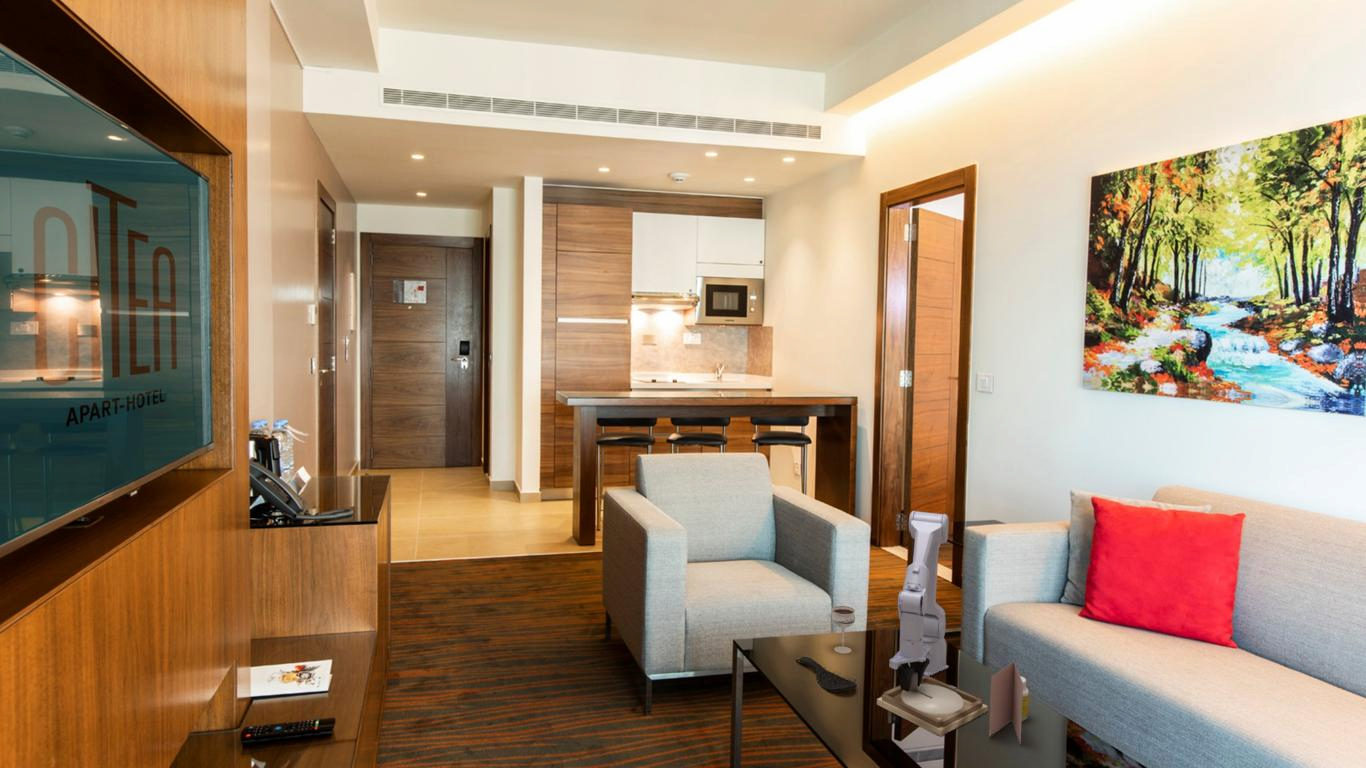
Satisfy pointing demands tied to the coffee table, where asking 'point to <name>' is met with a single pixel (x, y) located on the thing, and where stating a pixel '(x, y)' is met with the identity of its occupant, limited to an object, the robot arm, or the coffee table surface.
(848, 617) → the wineglass
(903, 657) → the robot arm
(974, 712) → the dial housing
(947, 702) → the dial
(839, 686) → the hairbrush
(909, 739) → the coffee table surface
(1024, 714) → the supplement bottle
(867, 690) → the coffee table surface
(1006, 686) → the greeting card
